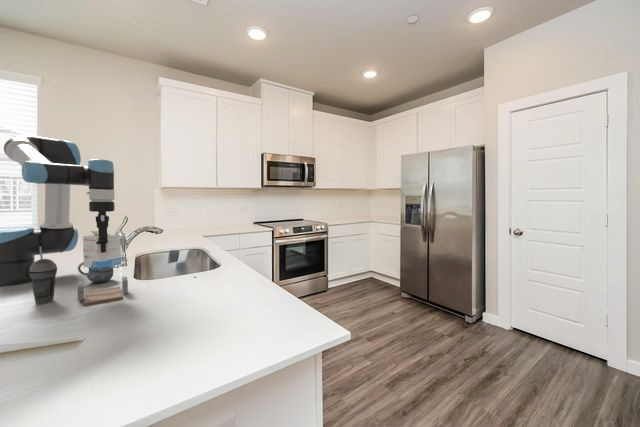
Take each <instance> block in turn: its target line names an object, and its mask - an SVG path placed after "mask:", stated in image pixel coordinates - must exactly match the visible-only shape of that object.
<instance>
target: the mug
mask: <svg viewBox="0 0 640 427" xmlns="http://www.w3.org/2000/svg"><path fill="white" fill-rule="evenodd" d="M82 266H84V261H83V262H81V263H79V264H78V266H77V271H78V272H79V273H80V274H81V275H83V276H85V277H87V279H88V280H89V281H90V282H92V283H95V284H102V283H106V282H109V281H110V280H111V279H112V278H113V276H114V268H115V265H114V266H110V267H105V268H101V269H97V268H89V267H88V272H84V271H82V269H81V267H82Z"/></svg>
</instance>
